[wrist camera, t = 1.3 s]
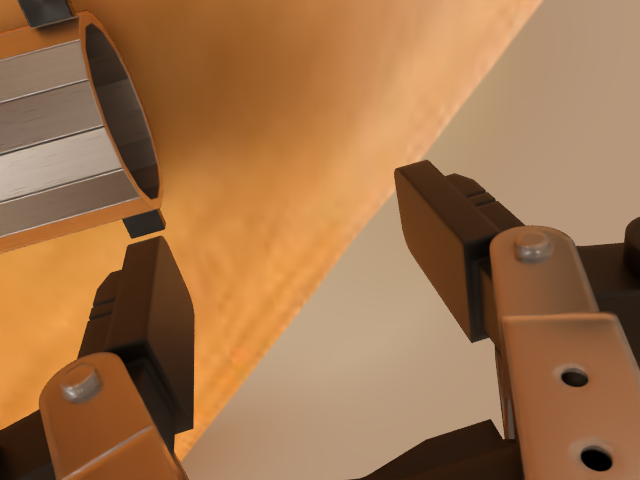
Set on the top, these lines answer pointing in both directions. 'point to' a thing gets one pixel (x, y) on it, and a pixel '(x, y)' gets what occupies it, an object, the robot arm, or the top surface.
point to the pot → (71, 132)
